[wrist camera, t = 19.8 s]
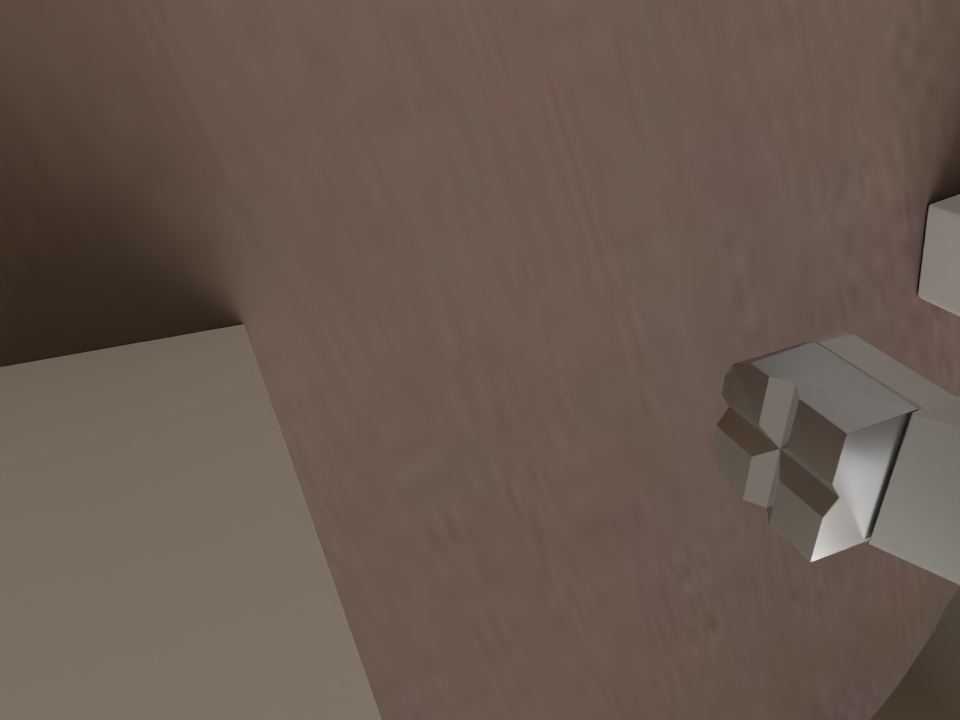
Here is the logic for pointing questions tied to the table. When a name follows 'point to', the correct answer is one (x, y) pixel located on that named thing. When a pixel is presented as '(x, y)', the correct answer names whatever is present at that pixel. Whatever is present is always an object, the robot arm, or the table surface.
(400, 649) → the table surface
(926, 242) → the milk carton
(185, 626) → the door frame
